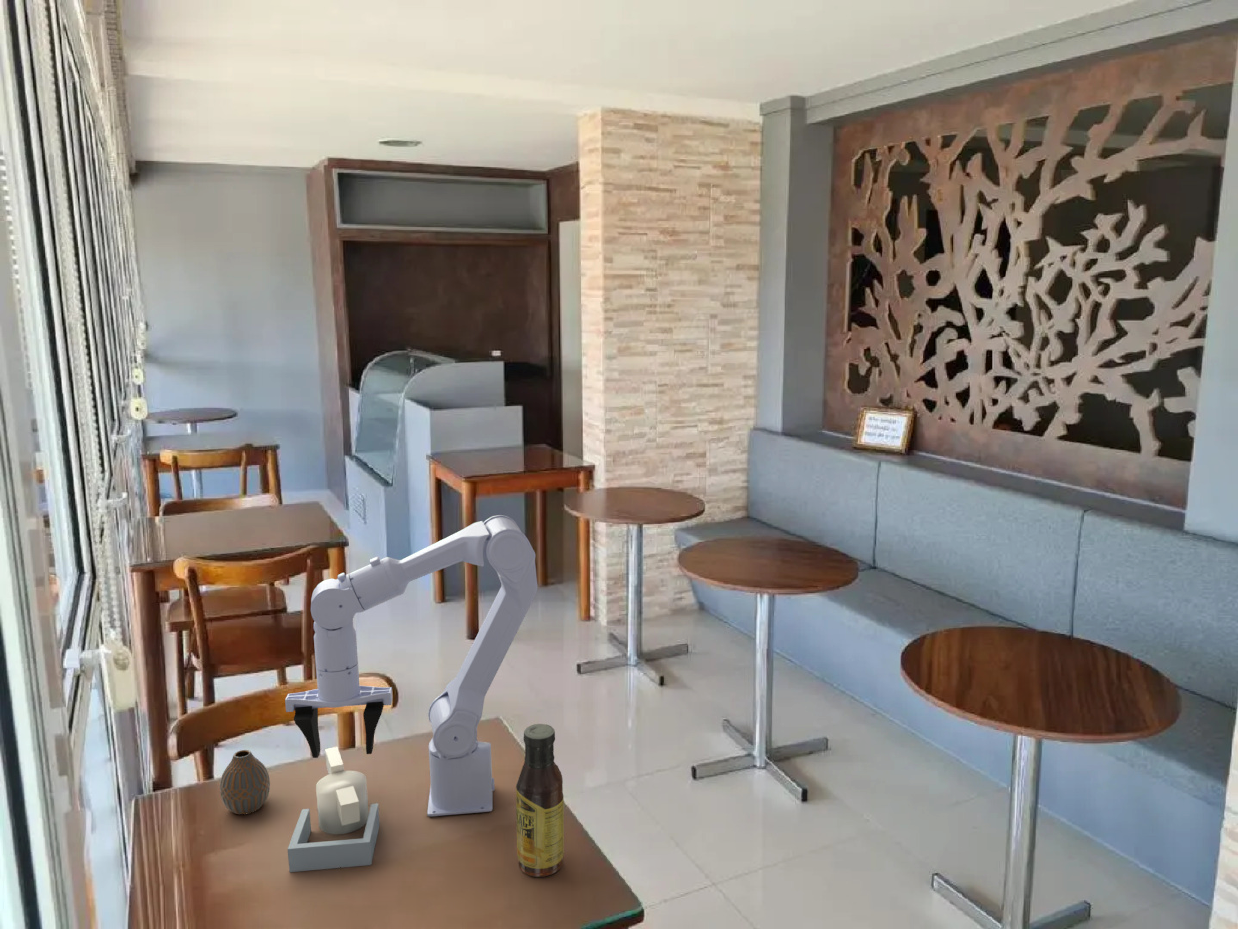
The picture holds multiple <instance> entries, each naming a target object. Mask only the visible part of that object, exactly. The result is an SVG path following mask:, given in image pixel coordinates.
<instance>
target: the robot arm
mask: <svg viewBox="0 0 1238 929" xmlns="http://www.w3.org/2000/svg"><path fill="white" fill-rule="evenodd" d="M484 559H485V560H487V561H488V563H489V564H490V566H491V567H492V568H493V569H494V570H495V572H496V573H497V576H498V578H499V581H500V583H501V584H500V588H499V590H498V592H497V594H496V596H495V598H494V599H493V600H494V601H493V602H492V603H491V604H492V605H490V607H489V610H488V612H487V614H486V617H485V618H484V620H483V622H482V624H481V626H480V628H479V631H478V633H477V635H476V637H475V638H474V640H473V643H472V645H471V647H470V648H469V650H468V653H467V654H466V657H465V658H464V659H463V662H462V664H461V667H460V668H459V670H458V672H457V674H456V676H455V678H453V679H452V680H451V681H449V682H448V683H447V685H446V687H445V688H444V690H443V692H441V694H439V695H438V696H437V697H436V698H434V699H433V701H432V702H431V703H430V706H429V708H428V713H427V714H428V715H427V716H428V720H429V723H430V724H431V725H430V726H431V731H432V732H431V733H432V738H431V739H430V741H429V743H428V758H429V759H428V760H429V762H428V763H429V774H430V775H429V777H430V778H429V779H430V781H429V782H430V788H429V797H428V804H427V811H426V813H427V814H426V815H427V817H439V816H440V817H441V816H451V815H463V814H474V813H475V814H476V813H488V812H492V811H493V791H495V789H496V788H495V778H494V777H493V765H492V763H493V762H492V744H491V742H485V741H479V740H478V726H479V724H480V721H481V719H482V716H483V710H484V703H485V698H486V695H487V693H488V691H489V690H490V687H491V685H492V684H493V681H494V678H495V676H496V675H497V673H498V671H499V669H500V667H501V666H502V663H503V661H504V659H505V657H506V655H507V653H508V651H509V649H510V647H511V646H512V643H513V641H514V639H515V637H516V635H517V633H518V631H519V630H520V627H521V625H522V624H523V621H524V619H525V617H526V615H527V613H528V611H529V609H530V607H531V605H532V603H533V601H534V599H535V597H536V595H537V593H538V589H539V588H538V587H539V586H538V578H537V568H536V552H535V550H534V549H533V546H532V544H531V543H530V541H529V539H528V537H527V536H526V535H525V533H523V532H522V531H521V529H520V527H519V524H518V523H517V522H516V521H515V520H514V519H513V518H512V517H509V516H508V515H503V514H498V515H492V516H490V517H489V518H487V519H486V520H484V521H483V520H481V521H476V522H473V523H471V524H470V525H468V526H466V527H465V528H463V529H461V530H459V531H457V532H455V533H453V534H451V535H449V536H447V537H445V538H443V539H440V540H439V541H437V542H434V543H432V544H431V545H428V546H426V547H425V548H422V549H421V550H418V551H416V552H414V553H412V554H410V555H408V556H407V557H404V558H402V559H396V558H392V557H389V556H385V557H384V558H382V559H380V557H379V556H375V557H372V558H371V559H369V564H368V565H366V566H363V567H360V568H358V569H356V570H354V571H352V572H350V573H347V574H346V573H345V572H341V573H340V574H338V575H337V578H335V579H334V578H328V579H325V580H323V581H321V582H319V583H318V584H317V585H316V587H315V588H314V589H313V591H312V594H311V598H310V613H311V617H312V620H313V621H314V622H313V631H314V635H313V643H314V645H313V646H314V658H315V660H314V661H315V670H316V685H317V688H315V689H311V690H306V691H299V692H293V693H287V695H286V697H285V700H284V701H285V712H286V713H290V712H292V713H293V712H294V716H293V720H294V721H293V722H294V723H295V725H296V726H297V727H298V729H299V730H300V731H301V733H302V734H303V736H304V738H305V740H306V741H307V742H306V743H307V744H308V746H309V748H310V751H311V755H312V758H313V759H318V758H319V756H320V753H321V739H320V733H319V709H320V708H321V709H322V708H323V709H324V708H333V709H335V708H342V707H351V706H353V707H354V706H355V707H356V706H365V708H364V710H363V721H364V728H365V751H366V755H371V754H372V753H373V749H374V740H375V734H376V729H377V726H378V724H379V721H380V718H381V716H382V713H383V710H384V706H392V702H393V687H392V686H390V687H389V686H388V687H386V686H384V687H383V686H382V687H381V686H370V685H369V686H368V685H361V684H360V674H359V660H358V646H357V644H358V643H357V642H358V641H357V631H356V629H355V627H354V617H355V616H356V614H357V613H358V614H359V613H363V612H366V611H368V610H370V609H372V608H374V607H376V606H378V605H381V604H384V603H385V602H388V601H390V600H392V599H395V598H396V597H398V596H401V595H403V594H405V591H406V588H407V586H408V584H409V583H410V582H412V581H415V580H417V579H419V578H422V577H425V576H427V575H428V576H429V575H430V574H433V573H435V572H438V571H441V570H443V569H445V568H448V567H451V566H453V565H456V564H458V563H460V562H464V563H468V564H471V565H475V566H479V567H485V563H484V562H485V561H484Z"/></svg>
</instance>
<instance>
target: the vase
mask: <svg viewBox="0 0 1238 929" xmlns="http://www.w3.org/2000/svg"><path fill="white" fill-rule="evenodd" d="M224 769H225V770H224V771H223V773H222V775H221V778H220V783H219V792H220V797H221V798H220V799H221V801H222V803H223V805H224V806H225V807H226V809H227V810H229V811H230V812H232V813H233V814H236V815H240V814H244V815H247V814H246V813H249V814H251V813H250V812H252V813H254V812H253V811H255V810H257V809H258V810H259V809H261V807H262V806H263V805H264V804H265V803H266V801H267V800H268V797H269V794H270V789H271V779H270V775H269V772H268V769H267V767H266V766H265V764H263V762H261V761H260V760H259V759H258V758H257V757H255V755H253V752H252V751H250V750H249V749H248V750H247V749H240V750H239V751H236V752H235V753H234V754H233V755H232V759H231V761H230V762H229V764H227V766H226V768H224ZM258 810H257V811H258ZM255 812H256V811H255Z"/></svg>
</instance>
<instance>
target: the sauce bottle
mask: <svg viewBox="0 0 1238 929" xmlns="http://www.w3.org/2000/svg"><path fill="white" fill-rule="evenodd" d="M555 740H556V732H555V728H553V726H552V725H549V724H545V723H536V724H535V723H534V724H531V725H529V726H526V728H525V729H524V731H523V743H524V754H525V756H524V763H523V765H522V768H521V771H520V774H519V777H518V780H517V782H516V785H515V795H516V796H515V799H516V802H515V803H516V804H515V805H516V806H515V807H516V808H515V812H516V814H515V815H516V816H515V818H516V852H517V859H518V866H519V870H521V872H523V873H525V875H528V876H529V877H531V878H541V877H547V876H551V875H554V874H555V873H557V872H558V871H559V870H560V869H561V868H562V867H563V866H562V865H563V862H564V861H563V860H564V858H563V857H564V854H565V853H564V852H565V850H564V848H565V847H564V842H565V841H564V840H565V839H564V836H565V835H564V834H565V833H564V831H565V830H564V828H565V827H564V824H565V821H564V820H565V819H564V817H565V815H564V811H565V810H564V809H565V808H564V803H565V802H564V793H563V789H564V788H563V784H564V783H563V775H562V771H561V770H560V768H559V765H558V764H556V762H555V755H554V743H555Z"/></svg>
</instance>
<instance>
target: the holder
mask: <svg viewBox="0 0 1238 929" xmlns="http://www.w3.org/2000/svg"><path fill="white" fill-rule="evenodd" d="M379 810H380V808H379V803H377V802H376V803H370V806H369V810H368V813H369V815H368V819H367V823H366V824H365V829H364V833H363V837H361V838H352V839H351V838H350V839H340V840H328V841H327V840H326V841H316V842H315V841H314V842H308V841H309V838H310V835H311V832H312V826H311V825H312V824H311V813H310V812H311V810H310V808H303V809H301V812H300V814H299V817H298V820H297V823H296V825H295V828H294V831H293V833H292V836H291V839H290V842H289V844H288V846H287V858H288V867H289V868H288V869H289V871H288V872H289V873H294V872H295V873H296V872H305V871H316V870H329V869H340V867H341V868H342V869H343V868H351V867H352V868H353V867H362V866H371V865H372V863H373V857H374V853H375V849H376V844H377V839H378V835H379V829H380V811H379Z"/></svg>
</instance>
